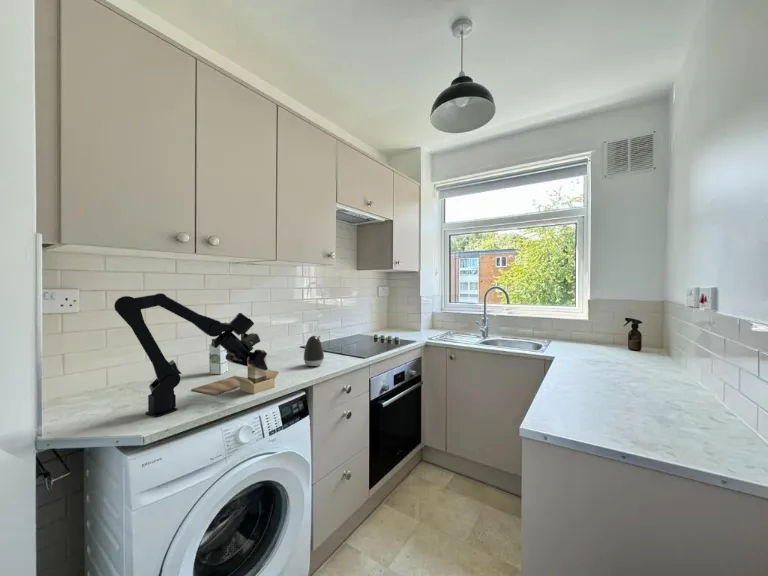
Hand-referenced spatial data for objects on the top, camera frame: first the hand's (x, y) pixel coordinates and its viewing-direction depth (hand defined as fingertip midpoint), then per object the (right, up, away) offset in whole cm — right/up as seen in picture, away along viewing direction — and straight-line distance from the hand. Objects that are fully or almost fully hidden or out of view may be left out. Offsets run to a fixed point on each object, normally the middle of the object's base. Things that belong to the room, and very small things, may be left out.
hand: (259, 367), depth 126 cm
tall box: (0, -8, -1) cm, 8 cm away
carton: (0, -8, -1) cm, 8 cm away
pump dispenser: (+14, -8, +36) cm, 39 cm away
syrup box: (-28, -8, +23) cm, 37 cm away
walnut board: (-15, -8, +4) cm, 17 cm away
